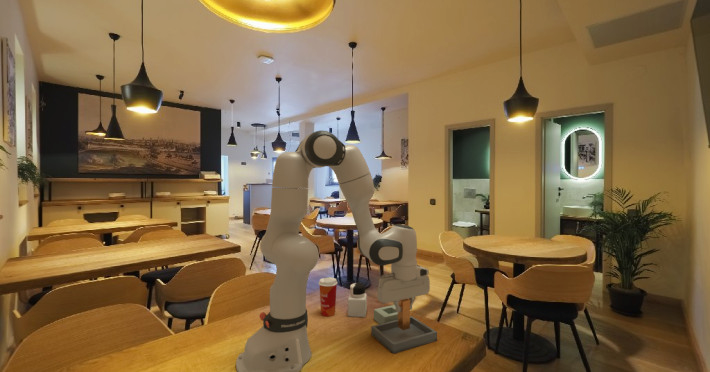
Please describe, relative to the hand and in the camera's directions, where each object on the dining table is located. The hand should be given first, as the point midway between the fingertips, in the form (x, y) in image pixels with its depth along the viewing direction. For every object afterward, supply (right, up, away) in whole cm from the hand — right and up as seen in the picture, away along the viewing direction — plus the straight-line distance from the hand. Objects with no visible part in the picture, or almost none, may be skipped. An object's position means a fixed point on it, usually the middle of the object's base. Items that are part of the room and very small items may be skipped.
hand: (403, 310), depth 112 cm
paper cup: (-28, -9, +20) cm, 35 cm away
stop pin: (0, -6, 0) cm, 6 cm away
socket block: (-3, -9, +13) cm, 16 cm away
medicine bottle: (-16, -9, +20) cm, 27 cm away
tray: (0, -10, 0) cm, 10 cm away
